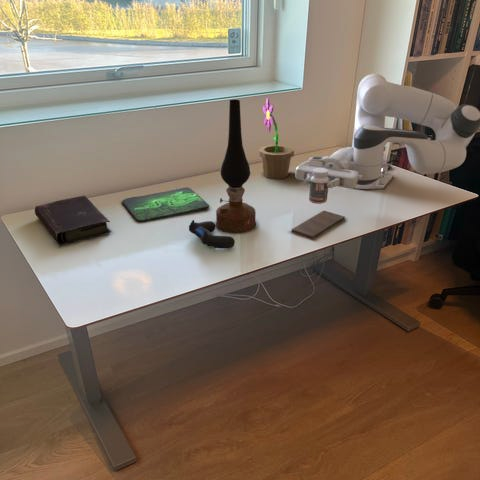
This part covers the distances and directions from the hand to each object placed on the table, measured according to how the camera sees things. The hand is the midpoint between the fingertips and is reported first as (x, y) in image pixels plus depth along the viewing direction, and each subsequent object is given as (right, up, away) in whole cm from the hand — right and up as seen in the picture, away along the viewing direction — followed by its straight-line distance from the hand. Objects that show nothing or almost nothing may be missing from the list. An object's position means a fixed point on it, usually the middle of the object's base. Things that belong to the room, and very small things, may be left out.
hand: (318, 183), depth 156 cm
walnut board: (+2, -11, +13) cm, 17 cm away
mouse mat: (-52, 0, +28) cm, 59 cm away
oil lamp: (-26, -10, +14) cm, 31 cm away
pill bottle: (+1, -5, +4) cm, 6 cm away
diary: (-80, -11, +13) cm, 82 cm away
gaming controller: (-34, -18, +3) cm, 38 cm away
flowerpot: (-9, +18, +55) cm, 58 cm away
